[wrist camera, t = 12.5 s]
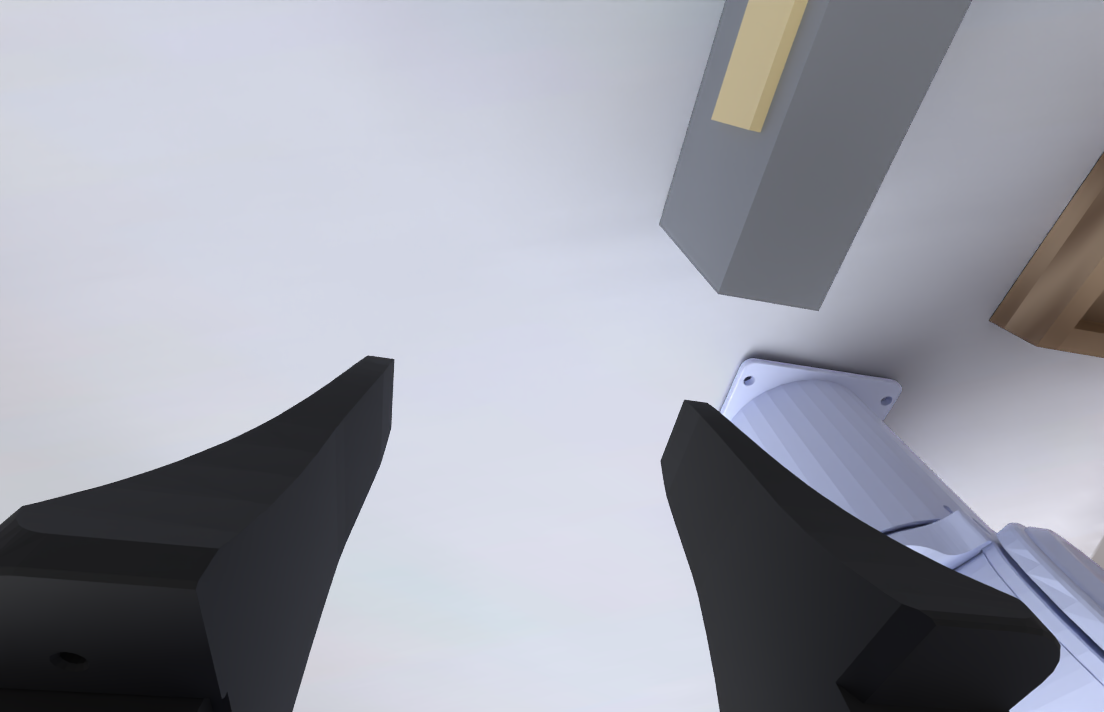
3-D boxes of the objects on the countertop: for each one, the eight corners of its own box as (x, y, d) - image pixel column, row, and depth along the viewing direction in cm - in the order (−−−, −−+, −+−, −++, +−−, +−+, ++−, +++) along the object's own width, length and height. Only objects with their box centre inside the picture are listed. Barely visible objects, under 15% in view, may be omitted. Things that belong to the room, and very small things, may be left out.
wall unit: (730, 237, 20) (818, 310, 14) (651, 223, 20) (707, 292, 14) (919, -271, 13) (1244, -552, 7) (806, -311, 13) (1052, -644, 7)
